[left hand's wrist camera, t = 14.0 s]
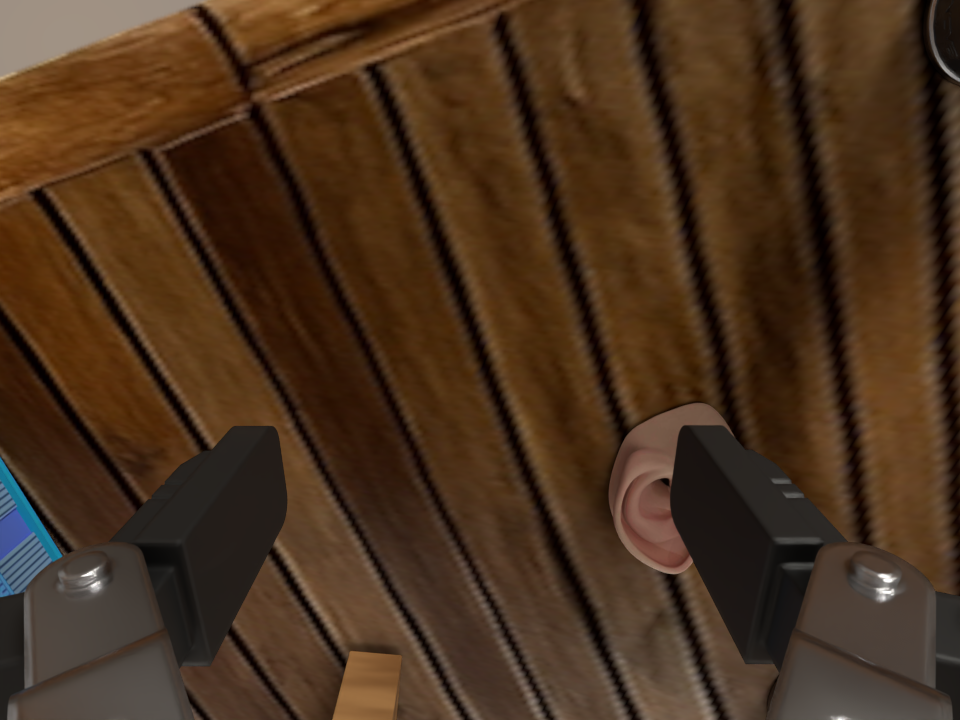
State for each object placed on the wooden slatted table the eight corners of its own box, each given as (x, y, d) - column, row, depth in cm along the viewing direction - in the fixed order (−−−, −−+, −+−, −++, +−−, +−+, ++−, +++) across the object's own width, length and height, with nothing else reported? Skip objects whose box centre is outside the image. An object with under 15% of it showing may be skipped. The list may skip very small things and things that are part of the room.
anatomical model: (700, 402, 41) (800, 488, 44) (682, 380, 45) (775, 461, 48) (575, 518, 45) (674, 591, 47) (567, 489, 48) (660, 559, 51)
